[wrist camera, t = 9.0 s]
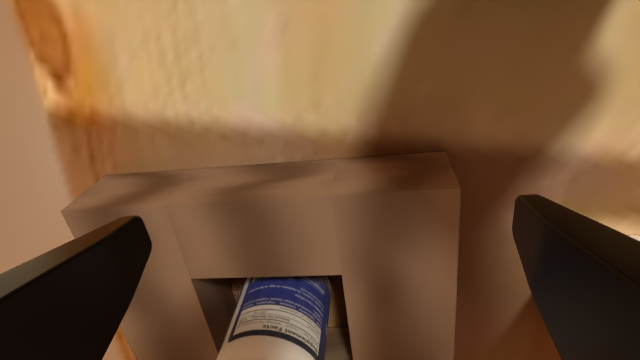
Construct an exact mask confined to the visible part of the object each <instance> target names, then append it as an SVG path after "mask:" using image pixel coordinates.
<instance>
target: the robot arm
mask: <svg viewBox="0 0 640 360" xmlns="http://www.w3.org/2000/svg"><path fill="white" fill-rule="evenodd" d="M512 232H513V237H514V241H515V244H516V247H517V250H518V253H519V256H520V259H521V262H522V266H523V269H524V272H525V275H526V278H527V281H528V284H529V287H530V290H531V293H532V296H533V298H534V300H535V303H536V305H537V307H538V309H539V311H540V314H541V316H542V318H543V320H544V322H545V324H546V326H547V329H548V331H549V333H550V335H551V337H552V339H553V341H554V344H555V346H556V348H557V350H558V352H559V354H560V356H561V359H562V360H640V241H638V240H636V239H634V238H632V237H630V236H627V235H625V234H623V233H621V232H619V231H617V230H614V229H612V228H610V227H608V226H606V225H603V224H601V223H599V222H597V221H595V220H593V219H590V218H588V217H586V216H584V215H582V214H580V213H577V212H575V211H573V210H571V209H569V208H567V207H564V206H562V205H560V204H558V203H556V202H554V201H551V200H549V199H547V198H545V197H543V196H541V195H538V194H530V195H519V196H518V197H517V198H516V201H515V208H514V217H513V225H512ZM151 251H152V241H151V239H150V236H149V234H148V231H147V229H146V226H145V224H144V221H143V219H142V218H141V217H140V216H137V215H134V216H123V217H120V218H118V219H116V220H114V221H112V222H110V223H107V224H105V225H103V226H101V227H99V228H97V229H95V230H93V231H91V232H88V233H86V234H84V235H82V236H80V237H78V238H76V239H74V240H72V241H69V242H67V243H65V244H63V245H61V246H59V247H57V248H55V249H53V250H51V251H48V252H46V253H44V254H42V255H40V256H38V257H36V258H34V259H32V260H29V261H27V262H25V263H23V264H21V265H19V266H16V267H14V268H12V269H10V270H8V271H6V272H4V273H2V274H0V360H102V358H103V356H104V354H105V353H106V351H107V349H108V347H109V345H110V343H111V341H112V339H113V337H114V335H115V333H116V331H117V329H118V327H119V325H120V324H121V322H122V320H123V318H124V316H125V314H126V312H127V310H128V308H129V306H130V304H131V301H132V299H133V297H134V294H135V292H136V289H137V287H138V284H139V282H140V279H141V277H142V274H143V271H144V269H145V266H146V264H147V261H148V259H149V256H150V254H151Z"/></svg>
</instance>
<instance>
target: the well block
mask: <svg viewBox="0 0 640 360" xmlns="http://www.w3.org/2000/svg"><path fill="white" fill-rule="evenodd" d="M460 202H461V187H460V185H459V182H458V180H457V177H456V175H455V173H454V170H453V168H452V165H451V163H450V161H449V158H448V156H447V153H446V151H441V152H427V153H413V154H398V155H384V156H370V157H356V158H342V159H328V160H314V161H300V162H286V163H272V164H258V165H244V166H230V167H216V168H202V169H188V170H174V171H160V172H146V173H132V174H118V175H105V176H104V177H103V178H101V179H100V180H99V181H98V182H96V183H95V184H94V185H93V186H92V187H90V188H89V189H88V190H87V191H85V192H84V193H83V194H82V195H80V196H79V197H78V198H77V199H75V200H74V201H73V202H72V203H70V204H69V205H68V206H67V207H65V208H64V209H63V210H62V211H61V213H62V215H63V216H64V218H65V220H66V222H67V224H68V226H69V228H70V230H71V232H72V234H73V236H74V238H75V239H76V238H78V237H80V236H82V235H84V234H86V233H88V232H91V231H93V230H95V229H97V228H99V227H101V226H103V225H105V224H107V223H110V222H112V221H114V220H116V219H118V218H120V217H123V216H134V215H137V216H140V217H141V218H142V219H143V221H144V224H145V226H146V229H147V231H148V234H149V236H150V239H151V241H152V251H151V254H150V256H149V259H148V261H147V264H146V266H145V269H144V271H143V274H142V277H141V279H140V282H139V284H138V287H137V289H136V292H135V294H134V297H133V299H132V301H131V304H130V306H129V308H128V310H127V312H126V314H125V316H124V318H123V320H122V322H121V324H120V325H119V326H120V328H121V330H122V332H123V334H124V336H125V338H126V340H127V342H128V344H129V346H130V348H131V350H132V351H133V353H134V355H135V357H136V359H137V360H216V359H217V356H218V353H219V350H220V347H221V345H222V342H223V339H224V337H225V334H226V331H227V329H228V326H229V323H230V320H231V318H232V315H233V312H234V310H235V307H236V302H235V298H234V295H233V292H232V289H231V285H230V282H229V279H228V278H243V277H281V276H320V275H342V280H343V288H344V295H345V303H346V310H347V318H348V325H349V327H328V328H327V338H326V348H325V358H324V360H454V343H455V320H456V296H457V272H458V249H459V225H460Z"/></svg>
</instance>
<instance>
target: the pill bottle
mask: <svg viewBox="0 0 640 360" xmlns="http://www.w3.org/2000/svg"><path fill="white" fill-rule="evenodd" d="M330 299H331V285H330V281H329V279H328V277H327V275H320V276H281V277H246V280H245V282H244V285H243V288H242V290H241V293H240V296H239V299H238V301H237V304H236V307H235V310H234V312H233V315H232V318H231V320H230V323H229V326H228V329H227V331H226V334H225V337H224V339H223V342H222V345H221V347H220V350H219V353H218V356H217V359H216V360H324V358H325V348H326V338H327V328H328V319H329V309H330Z"/></svg>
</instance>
